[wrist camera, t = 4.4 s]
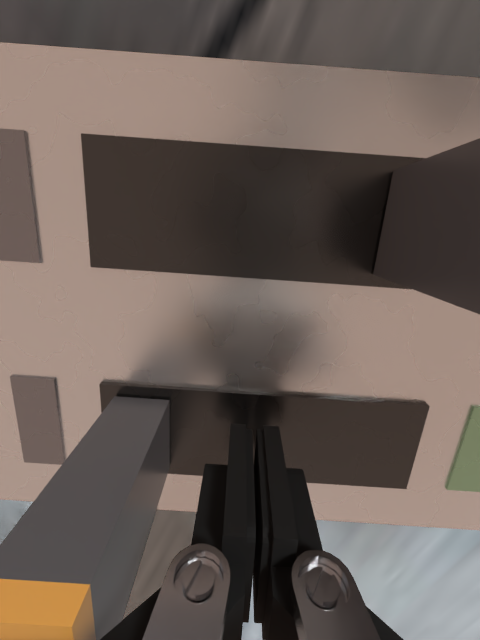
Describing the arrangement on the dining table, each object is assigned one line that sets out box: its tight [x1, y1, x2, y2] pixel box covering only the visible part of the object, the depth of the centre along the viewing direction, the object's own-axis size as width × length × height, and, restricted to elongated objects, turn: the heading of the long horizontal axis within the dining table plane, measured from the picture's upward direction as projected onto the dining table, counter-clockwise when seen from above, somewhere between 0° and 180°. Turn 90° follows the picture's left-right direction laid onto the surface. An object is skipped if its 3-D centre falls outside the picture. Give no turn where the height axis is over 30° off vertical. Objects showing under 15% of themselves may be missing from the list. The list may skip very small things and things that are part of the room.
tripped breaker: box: [0, 396, 170, 640], centre depth 8 cm, size 3×2×7 cm, turn 176°
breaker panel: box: [0, 42, 480, 530], centre depth 12 cm, size 16×22×3 cm
